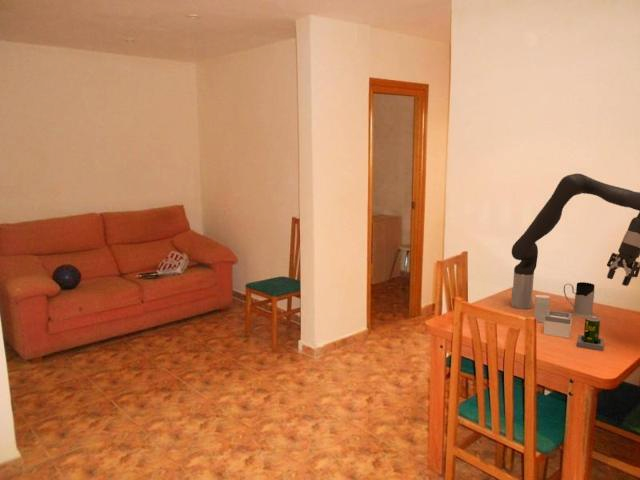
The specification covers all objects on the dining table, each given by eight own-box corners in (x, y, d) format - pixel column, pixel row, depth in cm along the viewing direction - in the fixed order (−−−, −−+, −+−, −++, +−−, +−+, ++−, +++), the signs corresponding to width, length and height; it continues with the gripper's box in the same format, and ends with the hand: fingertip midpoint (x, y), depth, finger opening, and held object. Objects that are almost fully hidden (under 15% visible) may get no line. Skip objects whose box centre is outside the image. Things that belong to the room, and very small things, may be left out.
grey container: (588, 319, 242) (591, 288, 239) (558, 311, 253) (560, 281, 250) (596, 315, 248) (599, 284, 245) (566, 308, 258) (568, 278, 256)
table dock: (576, 346, 210) (577, 342, 210) (578, 339, 218) (578, 334, 218) (603, 351, 205) (603, 346, 205) (603, 343, 214) (604, 338, 213)
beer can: (584, 341, 215) (587, 313, 213) (599, 344, 212) (602, 316, 210) (581, 345, 211) (584, 317, 209) (595, 348, 208) (598, 319, 206)
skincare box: (547, 320, 241) (549, 295, 239) (548, 323, 237) (550, 298, 235) (533, 319, 243) (535, 294, 240) (533, 322, 239) (535, 296, 237)
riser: (543, 334, 224) (545, 316, 222) (546, 326, 232) (547, 309, 231) (569, 338, 219) (570, 320, 217) (570, 330, 228) (572, 313, 226)
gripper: (612, 237, 212) (597, 274, 215) (638, 246, 199) (622, 285, 202) (627, 241, 214) (612, 278, 217) (654, 250, 200) (637, 289, 203)
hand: (616, 281), depth 209 cm, fingers open, 8 cm apart
